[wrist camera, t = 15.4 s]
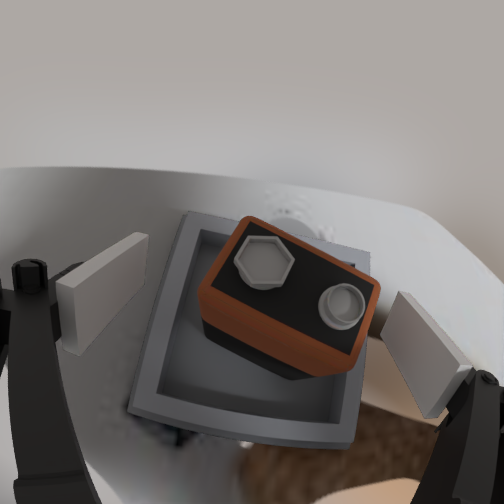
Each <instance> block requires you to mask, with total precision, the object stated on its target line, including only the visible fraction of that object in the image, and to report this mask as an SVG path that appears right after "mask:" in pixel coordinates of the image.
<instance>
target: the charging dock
mask: <svg viewBox="0 0 504 504" xmlns="http://www.w3.org/2000/svg"><path fill="white" fill-rule="evenodd" d="M238 224H239V221H234V220H229V219H225V218H220V217H215V216H211V215H206V214H201V213H196V212H192V211H188V214H187V216H186V215H183V217H182V220H181V223H180V226H179V228H178V231H177V234H176V237H175V240H174V243H173V246H172V249H171V252H170V255H169V258H168V261H167V264H166V267H165V270H164V273H163V277H162V280H161V283H160V286H159V289H158V293H157V296H156V299H155V303H154V306H153V310H152V313H151V317H150V320H149V324H148V327H147V331H146V335H145V338H144V342H143V346H142V350H141V353H140V357H139V361H138V365H137V369H136V374H135V378H134V382H133V386H132V391H131V395H130V400H129V404H128V409H127V412H128V413H131V414H134V415H137V416H140V417H144V418H147V419H150V420H153V421H157V422H160V423H164V424H167V425H171V426H174V427H178V428H182V429H186V430H190V431H194V432H199V433H203V434H208V435H213V436H218V437H223V438H228V439H234V440H240V441H246V442H253V443H260V444H268V445H277V446H287V447H299V448H315V449H349V448H350V443H354V437H355V432H356V426H357V420H358V414H359V407H360V400H361V393H362V384H363V377H364V368H365V357H366V346H367V334H368V332H367V334H366V337H365V340H364V343H363V346H362V348H361V351H360V354H359V356H358V359H357V362H356V364H355V366H354V368H353V369H352V370H350V371H348V372H344V373H338V374H333V375H327V376H321V377H315V378H308V379H301V380H293V381H291V380H288V379H285V378H283V377H281V376H279V375H277V374H274V373H272V372H270V371H268V370H266V369H264V368H262V367H260V366H258V365H256V364H254V363H252V362H250V361H248V360H246V359H244V358H242V357H240V356H238V355H236V354H234V353H233V352H231V351H229V350H227V349H225V348H223V347H221V346H219V345H218V344H216V343H214V342H212V341H210V340H209V339H207V338H206V336H205V334H204V329H203V324H202V318H201V313H200V307H199V301H198V295H197V290H198V287H199V285H200V284H201V282H202V280H203V279H204V277H205V276H206V274H207V272H208V271H209V269H210V268H211V266H212V264H213V263H214V261H215V260H216V258H217V257H218V255H219V253H220V252H221V250H222V249H223V247H224V246H225V244H226V242H227V241H228V239H229V238H230V236H231V235H232V233H233V231H234V230H235V228H236V227H237V225H238ZM286 233H288V232H286ZM288 234H290V235H292V236H294V237H296V238H298V239H300V240H302V241H304V242H306V243H308V244H310V245H312V246H314V247H316V248H318V249H319V250H321V251H323V252H325V253H327V254H329V255H331V256H333V257H335V258H337V259H339V260H341V261H342V262H344V263H346V264H348V265H350V266H352V267H354V268H356V269H357V270H359V271H361V272H363V273H365V274H367V275H369V276H370V252H367V251H363V250H359V249H355V248H351V247H347V246H343V245H338V244H334V243H330V242H326V241H322V240H318V239H313V238H309V237H304V236H301V235H296V234H292V233H288Z"/></svg>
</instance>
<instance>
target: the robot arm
mask: <svg viewBox="0 0 504 504" xmlns="http://www.w3.org/2000/svg"><path fill="white" fill-rule="evenodd" d="M148 243H149V235H148V234H144V233H139V232H134V233H133V234H131V235H129V236H127V237H126V238H124V239H122V240H121V241H119V242H117V243H116V244H114V245H112V246H111V247H109V248H107V249H106V250H104V251H102V252H101V253H99V254H98V255H96V256H94V257H93V258H91V259H90V260H88V261H86V262H80V263H77V264H73V265H71V266H70V267H68V268H66V269H65V270H63V271H62V272H60V273H59V274H57V275H55V276H54V277H52V278H51V279H49V280H48V277H47V265H46V263H45V262H43V261H41V260H38V259H24V260H20V261H18V262H16V263H14V264H13V266H12V277H13V285H14V291H13V290H7V289H2V286H1V279H0V377H1V374H2V370H3V367H4V364H5V361H6V358H7V355H8V396H9V412H10V423H11V432H12V440H13V447H14V453H15V459H16V464H17V469H18V479H16V480H14V484H13V489H14V494H15V499H16V503H17V504H102V503H101V500H100V498H99V496H98V493H97V491H96V489H95V487H94V484H93V482H92V479H91V477H90V474H89V472H88V469H87V466H86V464H85V461H84V458H83V455H82V452H81V450H80V447H79V443H78V440H77V437H76V434H75V431H74V427H73V424H72V420H71V417H70V413H69V409H68V405H67V401H66V397H65V392H64V388H63V383H62V378H61V373H60V368H59V362H58V356H57V350H56V344H55V342H56V341H57V340H58V339H59V338H60V337H61V339H62V345H63V350H65V351H68V352H70V353H72V354H74V355H77V356H79V357H80V356H81V355H82V354H83V353H84V351H85V350H86V349H87V348H88V347H89V346H90V344H91V343H92V342H93V341H94V340H95V339H96V338H97V336H98V335H99V334H100V333H101V332H102V331H103V330H104V328H105V327H106V326H107V325H108V324H109V323H110V322H111V321H112V320H113V318H114V317H115V316H116V315H117V314H118V313H119V312H120V311H121V310H122V308H123V307H124V306H125V305H126V304H127V303H128V302H129V301H130V300H131V299H132V298H133V296H134V295H135V294H136V293H137V292H138V291H139V290H140V289H141V288H142V287H143V286H144V285H145V273H146V262H147V252H148ZM380 336H381V338H382V339H383V341H384V343H385V344H386V346H387V348H388V350H389V352H390V353H391V355H392V357H393V359H394V361H395V363H396V364H397V366H398V368H399V370H400V372H401V374H402V376H403V378H404V380H405V381H406V383H407V385H408V387H409V389H410V391H411V393H412V395H413V397H414V398H415V401H416V402H417V405H418V407H419V409H420V411H421V413H422V415H423V417H424V418H425V419H427V418H438V416H439V415H440V414H441V413H442V411H443V410H444V409H445V407H446V408H447V410H448V411H449V413H448V415H447V416H446V417H445V418H444V420H443V421H442V422H441V424H440V425H439V426H438V427H437V429H436V430H435V431H434V432H435V433H436V432H437V431H438V430H440V433H439V436H438V439H437V442H436V445H435V447H434V450H433V453H432V455H431V458H430V461H429V463H428V466H427V468H426V470H425V473H424V475H423V477H422V480H421V482H420V484H419V486H418V489H417V491H416V493H415V495H414V497H413V499H412V501H411V503H410V504H504V387H501V386H499V382H498V380H497V379H496V378H495V377H494V375H493V374H491V373H489V372H487V371H484V370H478V371H476V370H475V369H474V368H473V365H472V363H471V362H470V361H469V360H468V359H467V357H466V356H465V355H464V354H463V353H462V351H461V350H460V349H459V348H458V347H457V345H456V344H455V343H454V342H453V341H452V340H451V338H450V337H449V336H448V335H447V334H446V333H445V331H444V330H443V329H442V328H441V327H440V326H439V325H438V324H437V322H436V321H435V320H434V319H433V318H432V317H431V316H430V315H429V314H428V312H427V311H426V310H425V309H424V308H423V307H422V306H421V305H420V304H419V303H418V302H417V301H416V299H415V298H414V297H413V296H412V295H411V294H410V293H406V292H401V291H398V294H397V296H396V299H395V301H394V303H393V306H392V308H391V311H390V313H389V315H388V318H387V320H386V322H385V324H384V327H383V329H382V331H381V333H380Z"/></svg>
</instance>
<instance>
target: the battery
mask: <svg viewBox="0 0 504 504" xmlns="http://www.w3.org/2000/svg"><path fill="white" fill-rule="evenodd" d="M380 290H381V287H380V284H379V282H378V281H377V280H375V279H374V278H372V277H370V276H369V275H367V274H365V273H363V272H361V271H359V270H357V269H356V268H354V267H352V266H350V265H348V264H346V263H344V262H342V261H341V260H339V259H337V258H335V257H333V256H331V255H329V254H327V253H325V252H323V251H321V250H319V249H318V248H316V247H314V246H312V245H310V244H308V243H306V242H304V241H302V240H300V239H298V238H296V237H294V236H292V235H290V234H288V233H286V232H284V231H282V230H280V229H278V228H276V227H274V226H272V225H270V224H268V223H266V222H264V221H262V220H260V219H258V218H256V217H253V216H246V217H244V218H242V219H241V221H240V222H239V224H238V225H237V227H236V228H235V230H234V231H233V233H232V235H231V236H230V238H229V239H228V241H227V242H226V244H225V246H224V247H223V249H222V250H221V252H220V253H219V255H218V257H217V258H216V260H215V261H214V263H213V264H212V266H211V268H210V269H209V271H208V272H207V274H206V276H205V277H204V279H203V280H202V282H201V284H200V285H199V287H198V290H197V295H198V301H199V307H200V313H201V318H202V324H203V329H204V334H205V336H206V338H207V339H209V340H210V341H212V342H214V343H216V344H218V345H219V346H221V347H223V348H225V349H227V350H229V351H231V352H233V353H234V354H236V355H238V356H240V357H242V358H244V359H246V360H248V361H250V362H252V363H254V364H256V365H258V366H260V367H262V368H264V369H266V370H268V371H270V372H272V373H274V374H277V375H279V376H281V377H283V378H285V379H288V380H291V381H293V380H301V379H308V378H315V377H321V376H327V375H333V374H338V373H344V372H348V371H350V370H352V369H353V368H354V366H355V364H356V362H357V359H358V356H359V354H360V351H361V348H362V346H363V343H364V340H365V337H366V334H367V332H368V329H369V326H370V323H371V320H372V317H373V314H374V310H375V307H376V304H377V301H378V298H379V294H380Z"/></svg>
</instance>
